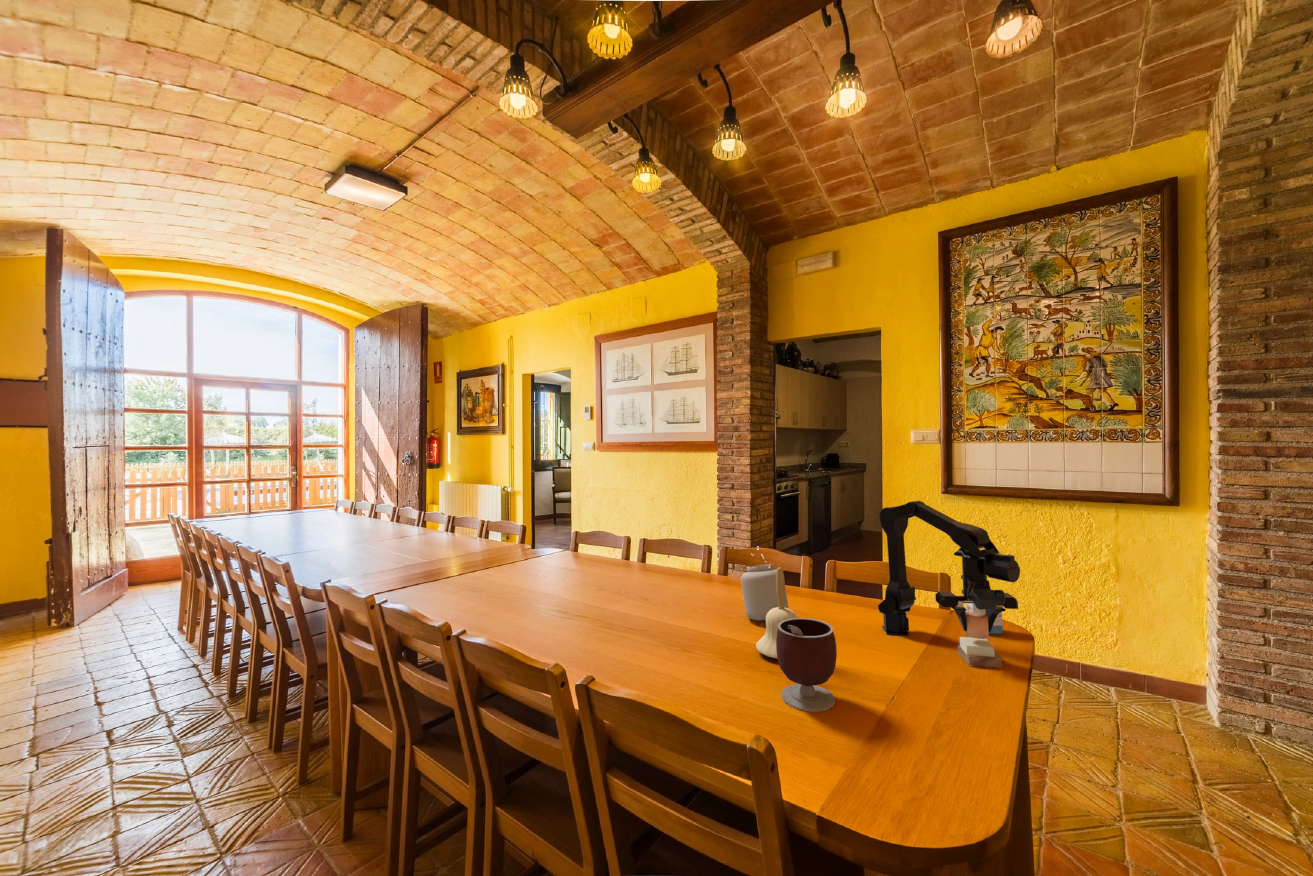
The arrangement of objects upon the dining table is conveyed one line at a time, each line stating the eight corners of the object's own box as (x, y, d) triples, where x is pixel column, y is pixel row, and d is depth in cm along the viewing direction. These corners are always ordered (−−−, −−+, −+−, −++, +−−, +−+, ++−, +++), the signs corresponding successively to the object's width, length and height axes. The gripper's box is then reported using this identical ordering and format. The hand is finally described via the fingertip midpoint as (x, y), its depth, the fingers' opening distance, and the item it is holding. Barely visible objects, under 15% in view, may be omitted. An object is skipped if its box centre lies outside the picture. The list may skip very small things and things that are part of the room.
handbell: (766, 640, 161) (763, 559, 161) (815, 648, 153) (812, 564, 153) (748, 658, 148) (745, 570, 148) (801, 668, 140) (798, 576, 140)
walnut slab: (969, 668, 138) (968, 656, 138) (957, 655, 146) (957, 645, 146) (1002, 669, 137) (1002, 658, 137) (989, 657, 144) (988, 646, 144)
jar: (730, 614, 186) (727, 545, 186) (762, 607, 193) (760, 540, 193) (764, 630, 169) (761, 554, 169) (798, 622, 176) (795, 548, 176)
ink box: (994, 628, 164) (993, 591, 164) (1003, 634, 159) (1001, 595, 159) (966, 628, 165) (964, 591, 165) (974, 634, 160) (972, 595, 160)
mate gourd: (793, 680, 133) (790, 602, 134) (847, 695, 125) (843, 612, 125) (764, 704, 121) (761, 619, 122) (822, 723, 113) (818, 631, 113)
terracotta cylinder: (970, 638, 139) (969, 618, 139) (961, 631, 145) (961, 611, 145) (992, 639, 138) (991, 618, 138) (983, 631, 144) (982, 612, 144)
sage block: (967, 655, 139) (966, 645, 139) (959, 645, 145) (959, 636, 145) (994, 657, 137) (994, 647, 137) (986, 647, 144) (985, 638, 144)
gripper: (948, 581, 135) (950, 641, 135) (1027, 582, 132) (1030, 644, 132) (933, 571, 146) (935, 626, 146) (1006, 572, 143) (1009, 628, 143)
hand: (976, 631), depth 141 cm, fingers closed on terracotta cylinder, 5 cm apart
